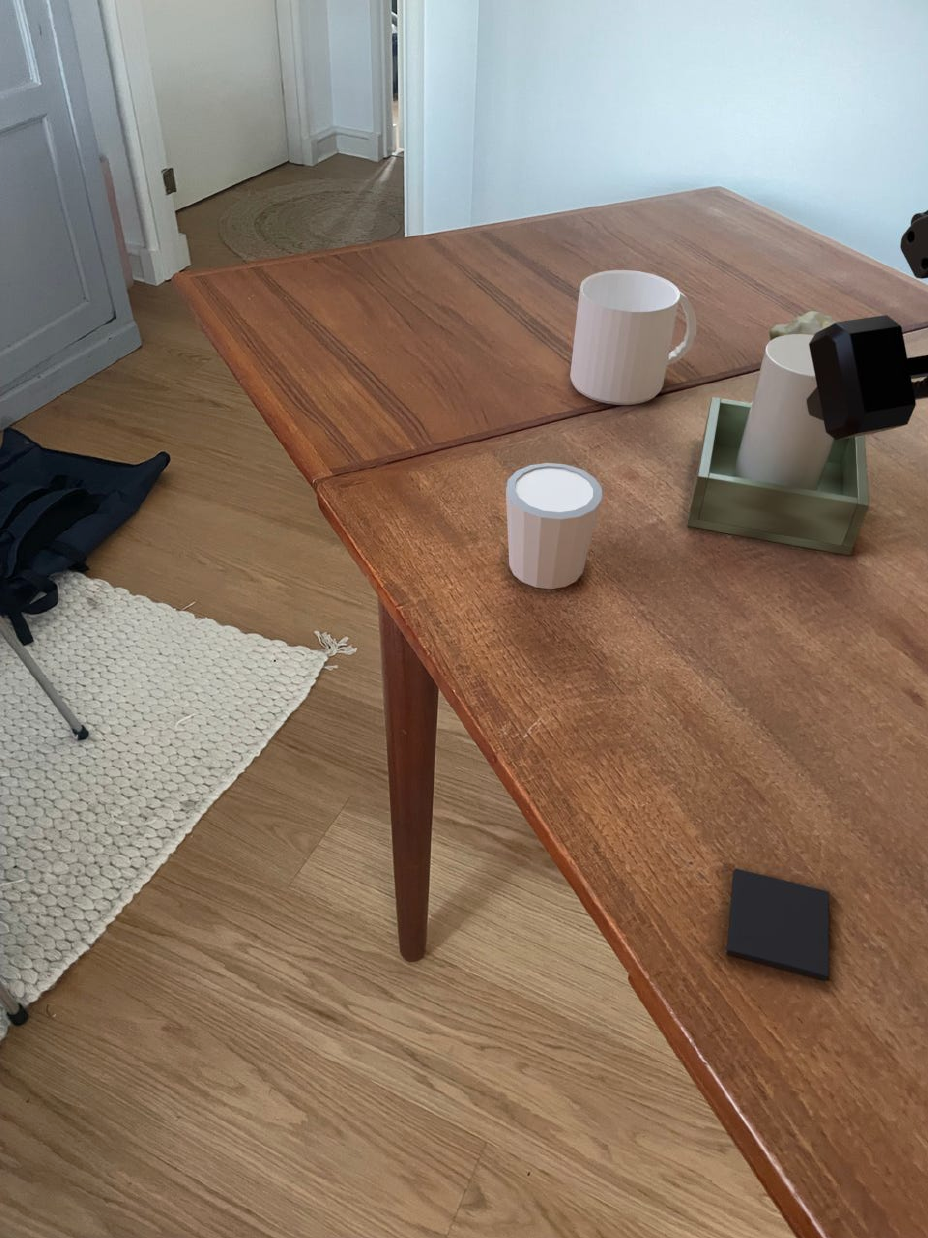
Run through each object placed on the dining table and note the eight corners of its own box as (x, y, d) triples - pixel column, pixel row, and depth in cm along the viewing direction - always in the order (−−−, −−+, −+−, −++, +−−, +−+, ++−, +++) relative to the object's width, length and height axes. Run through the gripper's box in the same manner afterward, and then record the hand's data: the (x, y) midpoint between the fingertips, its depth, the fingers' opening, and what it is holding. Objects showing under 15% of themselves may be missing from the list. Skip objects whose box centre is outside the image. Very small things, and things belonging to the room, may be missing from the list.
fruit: (863, 416, 90) (884, 347, 84) (762, 411, 92) (776, 343, 86) (857, 355, 96) (876, 286, 89) (762, 353, 97) (775, 284, 91)
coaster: (826, 896, 51) (828, 891, 50) (826, 981, 47) (829, 976, 47) (732, 872, 52) (734, 867, 51) (726, 954, 48) (728, 950, 48)
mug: (579, 407, 88) (591, 313, 81) (562, 361, 94) (571, 270, 88) (703, 403, 89) (724, 309, 82) (677, 358, 95) (695, 268, 89)
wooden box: (847, 468, 81) (864, 420, 78) (849, 556, 72) (869, 505, 69) (701, 444, 84) (711, 396, 80) (686, 526, 75) (697, 475, 71)
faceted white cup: (562, 527, 74) (571, 452, 69) (609, 579, 70) (622, 502, 65) (485, 550, 72) (488, 474, 67) (528, 605, 67) (535, 527, 63)
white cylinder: (815, 473, 79) (858, 341, 71) (814, 519, 74) (861, 383, 66) (733, 459, 80) (767, 328, 72) (727, 504, 76) (763, 368, 67)
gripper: (1187, 145, 49) (960, 261, 64) (892, 176, 44) (722, 293, 60) (1224, 355, 49) (990, 421, 65) (935, 406, 45) (755, 465, 60)
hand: (868, 396), depth 62 cm, fingers open, 9 cm apart
